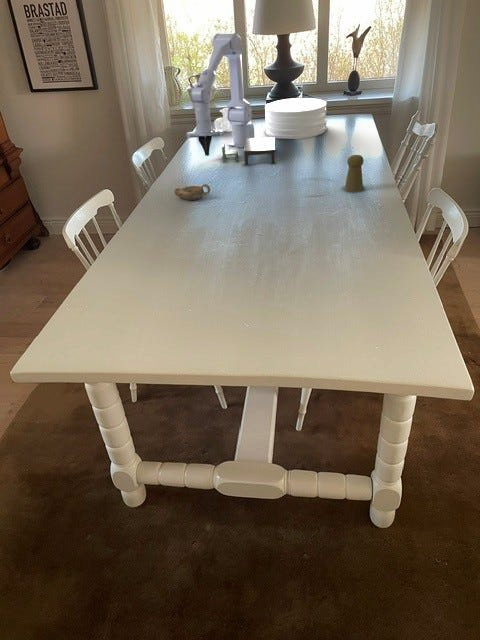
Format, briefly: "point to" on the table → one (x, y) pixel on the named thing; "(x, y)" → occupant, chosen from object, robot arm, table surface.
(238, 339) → the table surface
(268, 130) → the plate stack
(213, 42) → the robot arm
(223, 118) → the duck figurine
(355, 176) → the cork
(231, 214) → the table surface
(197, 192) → the oil lamp
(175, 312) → the table surface
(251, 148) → the desk
